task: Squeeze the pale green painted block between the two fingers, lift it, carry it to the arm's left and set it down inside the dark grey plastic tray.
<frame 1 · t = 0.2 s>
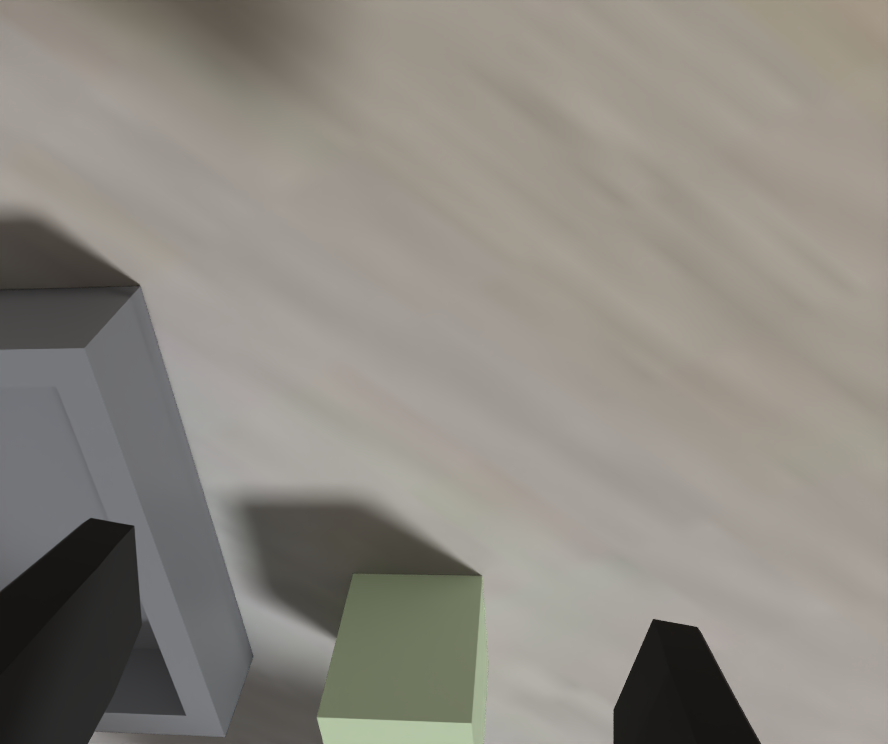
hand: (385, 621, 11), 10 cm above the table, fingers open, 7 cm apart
green block: (423, 618, 26), on the table
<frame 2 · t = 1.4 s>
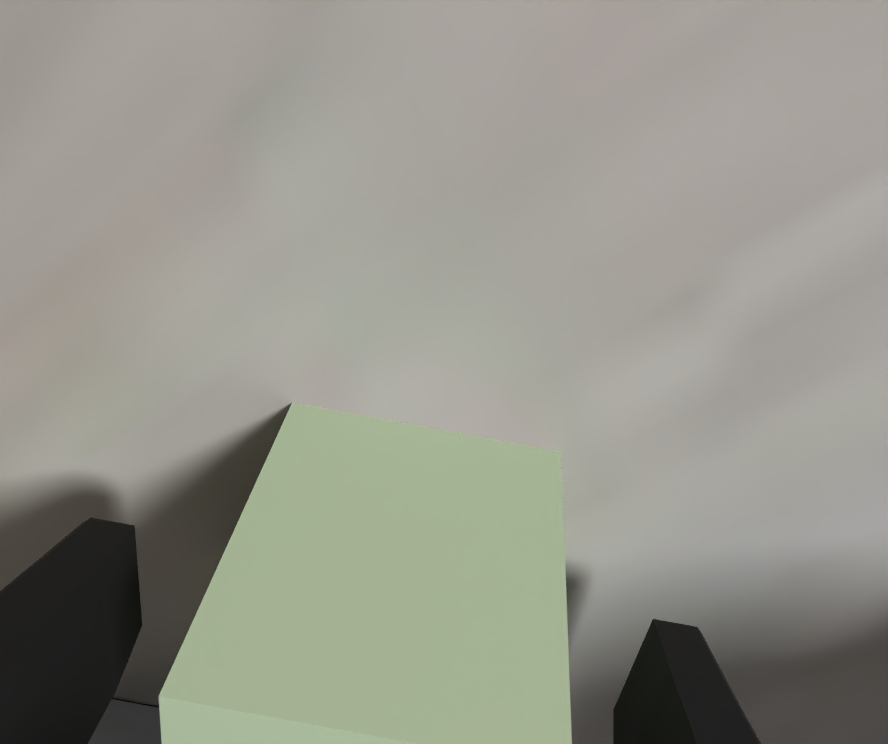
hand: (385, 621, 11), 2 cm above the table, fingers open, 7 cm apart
green block: (409, 524, 13), on the table
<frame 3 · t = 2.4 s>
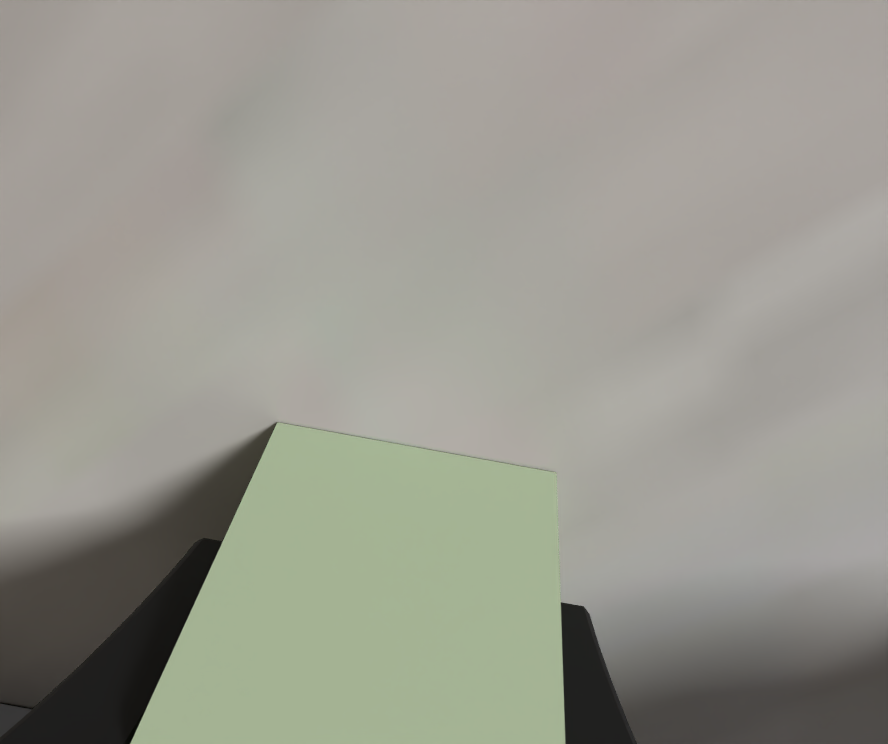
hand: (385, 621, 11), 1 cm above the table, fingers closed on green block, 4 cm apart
green block: (399, 548, 13), on the table, touching gripper
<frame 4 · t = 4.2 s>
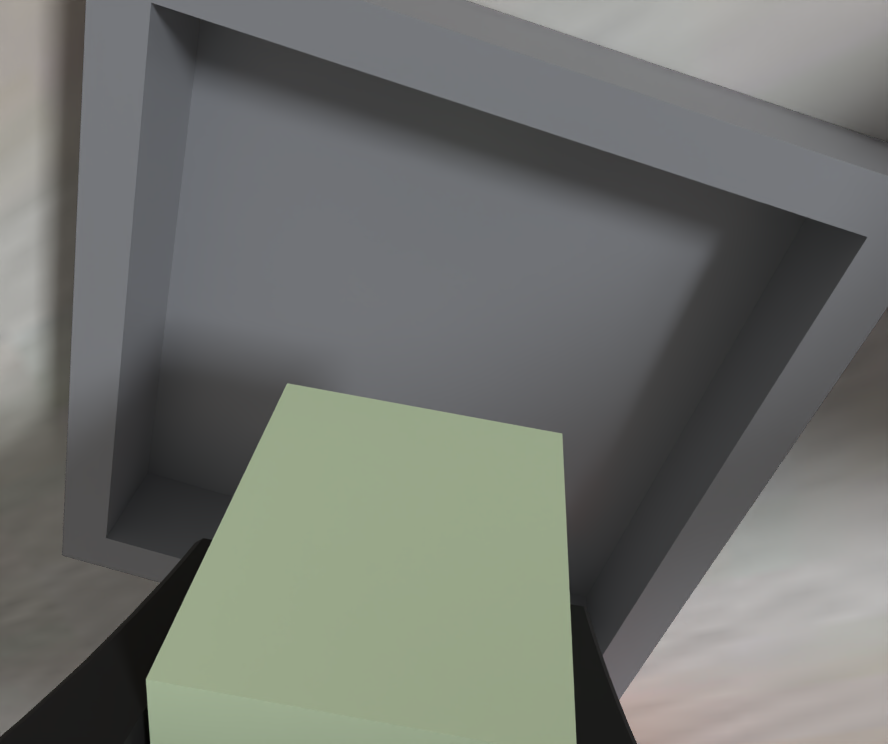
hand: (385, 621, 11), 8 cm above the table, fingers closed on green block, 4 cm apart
green block: (406, 511, 13), point 7 cm above the table, touching gripper
tray: (436, 338, 19), on the table
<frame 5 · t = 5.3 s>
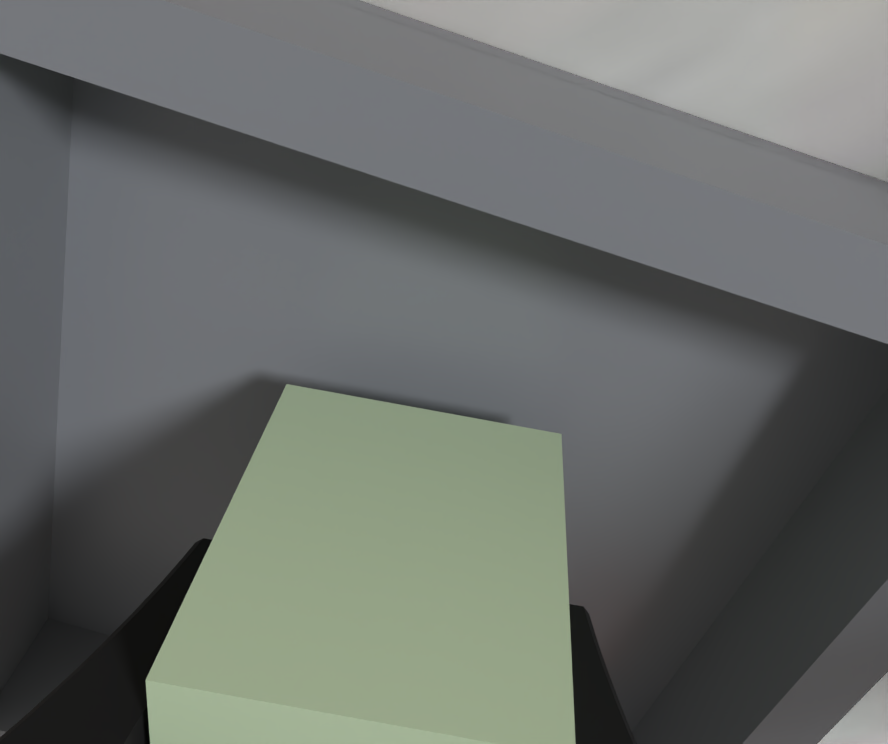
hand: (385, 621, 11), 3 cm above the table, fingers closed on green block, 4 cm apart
green block: (406, 511, 13), point 2 cm above the table, touching gripper
tray: (415, 467, 14), on the table
when the fingers open (3 cm above the table, at t = 6.0 s): green block stays where it is, resting on tray.
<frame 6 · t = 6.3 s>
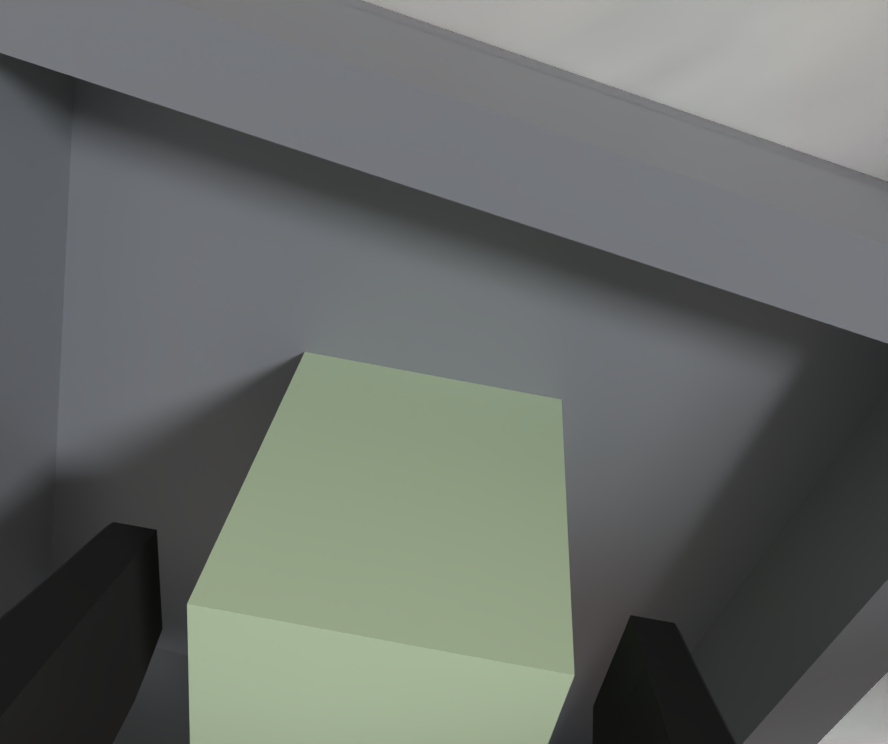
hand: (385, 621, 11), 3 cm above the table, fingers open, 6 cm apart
green block: (415, 474, 14), point 1 cm above the table, touching tray
tray: (415, 467, 14), on the table
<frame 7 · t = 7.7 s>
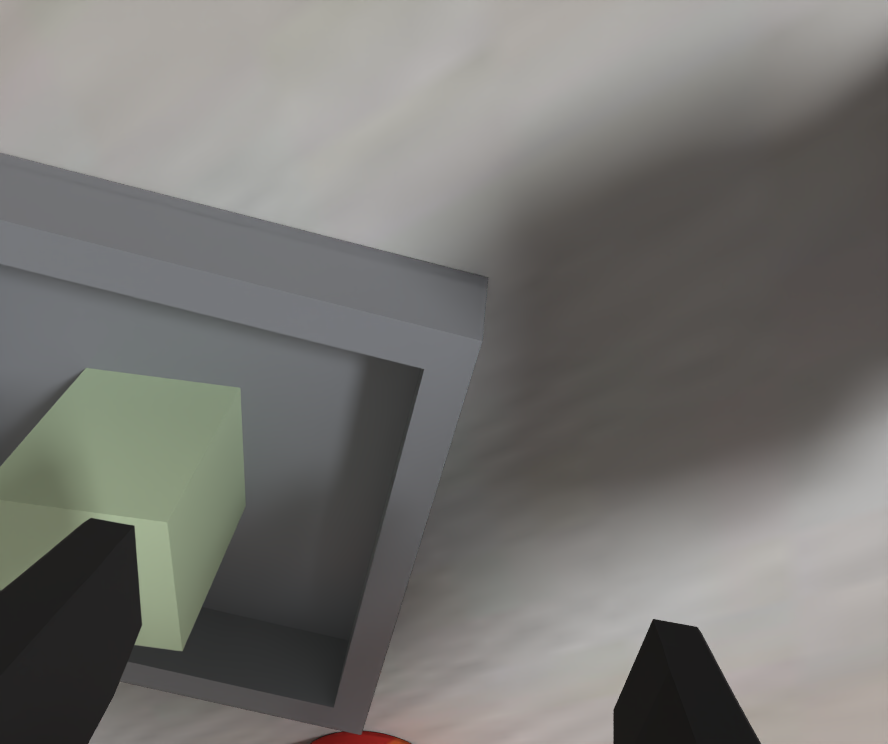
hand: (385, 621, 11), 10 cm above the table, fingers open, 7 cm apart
green block: (169, 440, 22), point 1 cm above the table, touching tray
tray: (178, 436, 23), on the table
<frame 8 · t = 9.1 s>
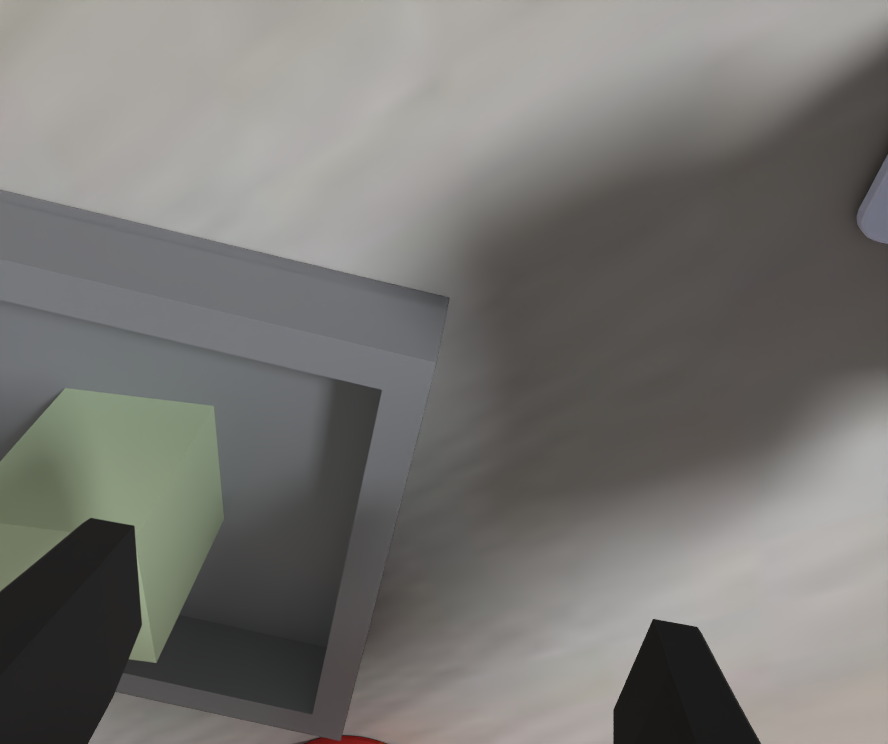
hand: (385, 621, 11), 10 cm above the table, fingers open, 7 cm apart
green block: (148, 456, 23), point 1 cm above the table, touching tray
tray: (157, 452, 23), on the table
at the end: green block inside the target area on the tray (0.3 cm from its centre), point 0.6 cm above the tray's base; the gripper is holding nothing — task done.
